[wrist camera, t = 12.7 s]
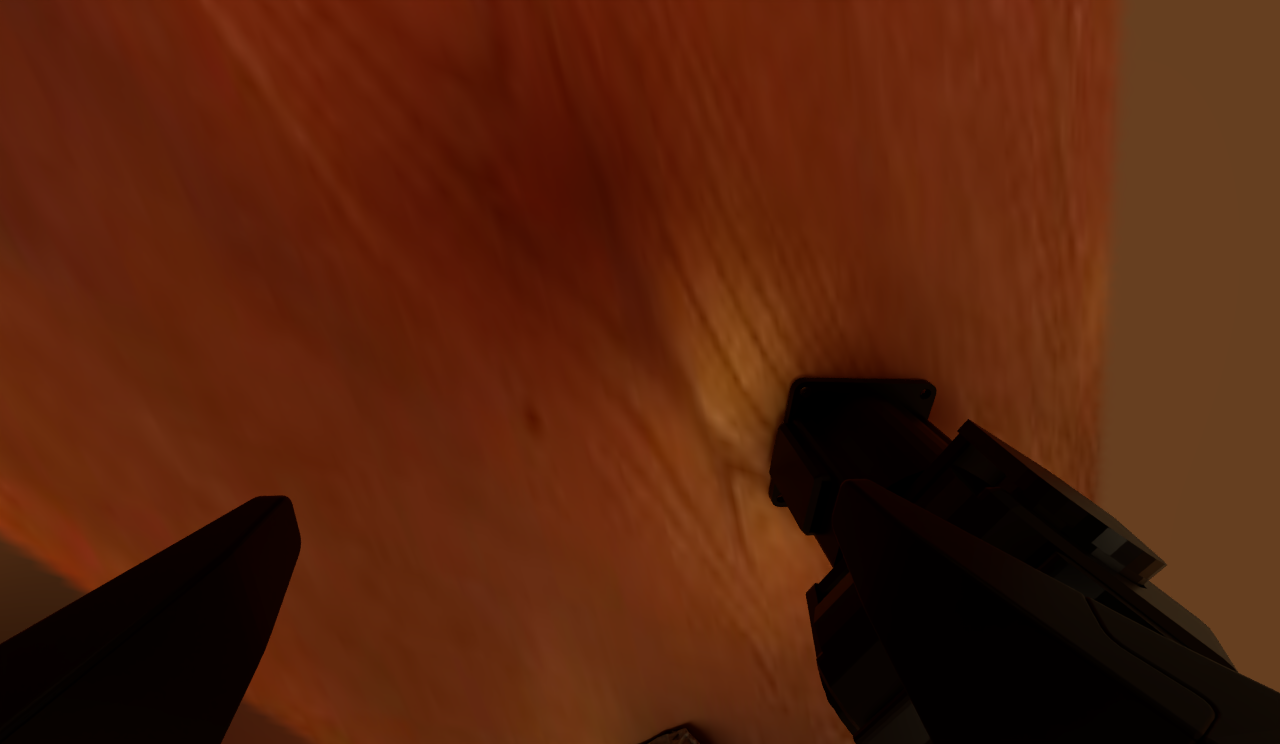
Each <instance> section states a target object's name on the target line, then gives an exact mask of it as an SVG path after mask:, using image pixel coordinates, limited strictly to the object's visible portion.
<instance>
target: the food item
mask: <svg viewBox="0 0 1280 744" xmlns="http://www.w3.org/2000/svg"><path fill="white" fill-rule="evenodd" d="M648 744H700V743H699V742H698V741H697V740H696V739H695V738H694V737H693V736H692V735H691V734H690V733H689V732H688V730H687V728H684V729H681V730H678V731H671V734H665V735H662V736H660V737H658V738H656V739H655V740H653V741H651V742H650V743H648Z"/></svg>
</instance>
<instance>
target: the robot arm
mask: <svg viewBox="0 0 1280 744" xmlns="http://www.w3.org/2000/svg"><path fill="white" fill-rule="evenodd" d="M804 387H808V388H807V390H806V392H804V393H800V391H801V389H802V388H804ZM924 389H926V390H925V392H924V393H923V394H922V395H920V393H921V392H922V391H923V390H924ZM936 391H937V390H936V387H935V386H934V385H932V384H931V383H930V382H928V381H926V380H904V379H852V378H799V379H798V380H796V381H795V382H794V383H793V384H792V386H791V389H790V394H789V399H788V404H787V408H786V413H785V418H784V423H782V424H781V425H780V426H779V428H778V432H777V437H776V441H775V446H774V451H773V456H772V461H771V466H770V471H769V474H770V476H771V478H772V480H771V485H770V490H769V497H770V499H771V501H772V503H773V505H775V506H777V507H788V508H789V510H790V511H791V513H792V515H793V517H794V519H795V520H796V522H797V524H798V526H799V528H800V529H801V530H802V532H803V533H804V534H805V535H814V536H815V538H816V540H817V541H818V543H819V545H820V546H821V548H822V550H823V552H824V553H825V555H826V557H827V558H828V560H829V562H830V564H831V565H832V567H833V569H832V570H831V571H830V572H829V573H828V574H827V575H826V576H825V577H824V578H823V579H822V581H821V582H820V583H819V584H818V583H815V584H814V585H813V586H812V587H811V588H810V589H809V590H808V591H807V592H806V599H807V604H808V610H809V616H810V622H811V628H812V634H813V640H814V645H815V651H816V657H817V659H816V660H817V666H818V671H819V675H820V678H821V682H822V685H823V688H824V690H825V693H826V697H827V700H828V702H829V703H830V705H831V706H832V707H833V708H834V710H835V711H836V713H837V715H838V716H839V718H840V719H841V721H842V722H843V723H844V725H845V726H846V727H847V729H848V730H849V731H850V733H851V734H852V735H853V739H854V742H855V743H856V744H1280V693H1279V692H1277V691H1275V690H1273V689H1271V688H1268V687H1267V686H1265V685H1262V684H1260V683H1258V682H1256V681H1254V680H1252V679H1250V678H1248V677H1246V676H1244V675H1242V674H1240V673H1238V671H1237V670H1236V668H1235V666H1234V665H1233V663H1232V662H1231V660H1230V659H1229V657H1228V655H1227V654H1226V652H1225V651H1224V649H1223V647H1222V646H1221V644H1220V643H1219V641H1218V640H1217V638H1216V637H1215V635H1214V634H1213V632H1212V631H1211V630H1210V628H1209V627H1207V625H1206V624H1204V623H1203V622H1202V621H1201V620H1200V619H1199V618H1197V617H1196V616H1194V615H1193V614H1192V613H1191V612H1189V611H1188V610H1187V609H1185V608H1184V607H1183V606H1181V605H1180V604H1179V603H1178V602H1176V601H1175V600H1173V599H1172V598H1171V597H1169V596H1168V595H1167V594H1166V593H1164V592H1163V591H1162V590H1160V589H1159V588H1158V587H1156V586H1155V585H1154V584H1152V583H1151V582H1150V581H1149V580H1150V579H1151V578H1152V577H1153V576H1155V575H1156V574H1157V573H1158V572H1159V571H1161V570H1162V569H1163V568H1164V567H1165V566H1166V565H1167V564H1166V563H1165V562H1164V561H1163V560H1162V559H1161V558H1160V557H1158V556H1157V555H1156V554H1155V553H1154V552H1153V551H1152V550H1150V549H1149V548H1148V547H1147V546H1146V545H1145V544H1143V543H1142V542H1141V541H1140V540H1139V539H1138V538H1137V537H1136V536H1134V535H1133V534H1132V533H1131V532H1130V531H1129V530H1128V529H1127V528H1125V527H1124V526H1123V525H1122V524H1121V523H1120V522H1119V521H1117V520H1116V519H1115V518H1114V517H1113V516H1111V515H1110V514H1108V513H1107V512H1106V511H1104V510H1103V509H1102V508H1100V507H1099V506H1097V505H1096V504H1095V503H1093V502H1092V501H1090V500H1089V499H1088V498H1086V497H1085V496H1083V495H1082V494H1081V493H1079V492H1078V491H1076V490H1075V489H1073V488H1072V487H1071V486H1069V485H1068V484H1066V483H1065V482H1064V481H1062V480H1061V479H1059V478H1058V477H1057V476H1055V475H1054V474H1052V473H1051V472H1049V471H1048V470H1046V469H1045V468H1043V467H1042V466H1040V465H1039V464H1037V463H1036V462H1034V461H1032V460H1031V459H1029V458H1028V457H1026V456H1025V455H1023V454H1022V453H1020V452H1019V451H1017V450H1015V449H1014V448H1012V447H1011V446H1009V445H1008V444H1006V443H1005V442H1003V441H1002V440H1000V439H998V438H997V437H995V436H994V435H992V434H991V433H989V432H988V431H986V430H985V429H983V428H981V427H980V426H978V425H977V424H975V423H974V422H972V421H971V420H969V419H968V420H967V421H966V422H965V423H964V424H963V425H962V426H961V427H960V428H959V430H958V432H959V434H958V435H957V437H956V438H955V439H954V440H953V441H952V440H951V439H950V438H949V437H947V436H946V435H945V434H944V433H943V432H941V431H940V430H939V429H938V428H937V427H935V426H934V425H933V424H932V423H931V422H929V421H928V417H929V414H930V411H931V408H932V405H933V402H934V399H935V396H936ZM780 494H781V495H782V496H781V497H778V496H779V495H780ZM300 548H301V537H300V532H299V528H298V524H297V520H296V516H295V512H294V508H293V504H292V502H291V500H290V499H289V498H288V497H286V496H283V495H281V496H258V497H255V498H253V499H251V500H250V501H248V502H246V503H244V504H243V505H241V506H239V507H237V508H236V509H234V510H232V511H230V512H229V513H227V514H225V515H223V516H222V517H220V518H218V519H217V520H215V521H213V522H211V523H210V524H208V525H206V526H204V527H203V528H201V529H199V530H197V531H196V532H194V533H192V534H190V535H189V536H187V537H185V538H184V539H182V540H180V541H178V542H177V543H175V544H173V545H171V546H170V547H168V548H166V549H164V550H163V551H161V552H159V553H157V554H156V555H154V556H152V557H150V558H149V559H147V560H145V561H144V562H142V563H140V564H138V565H137V566H135V567H133V568H131V569H130V570H128V571H126V572H124V573H123V574H121V575H119V576H117V577H116V578H114V579H112V580H110V581H109V582H107V583H105V584H104V585H102V586H100V587H98V588H97V589H95V590H93V591H91V592H90V593H88V594H86V595H84V596H83V597H81V598H79V599H77V600H76V601H74V602H72V603H71V604H69V605H67V606H65V607H63V608H62V609H60V610H58V611H57V612H55V613H53V614H51V615H50V616H48V617H46V618H44V619H43V620H41V621H39V622H38V623H36V624H34V625H32V626H30V627H29V628H27V629H25V630H23V631H22V632H20V633H19V634H17V635H15V636H13V637H11V638H10V639H8V640H6V641H4V642H3V643H1V644H0V744H221V742H222V740H223V738H224V736H225V734H226V732H227V730H228V728H229V726H230V724H231V721H232V719H233V717H234V715H235V713H236V711H237V709H238V707H239V705H240V703H241V700H242V698H243V696H244V694H245V692H246V690H247V688H248V686H249V684H250V682H251V680H252V677H253V675H254V673H255V671H256V669H257V667H258V665H259V662H260V660H261V658H262V656H263V654H264V651H265V649H266V646H267V644H268V641H269V638H270V636H271V633H272V630H273V627H274V625H275V622H276V619H277V616H278V613H279V610H280V607H281V605H282V602H283V599H284V596H285V593H286V590H287V587H288V585H289V582H290V579H291V576H292V573H293V570H294V567H295V565H296V562H297V559H298V556H299V553H300Z"/></svg>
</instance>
